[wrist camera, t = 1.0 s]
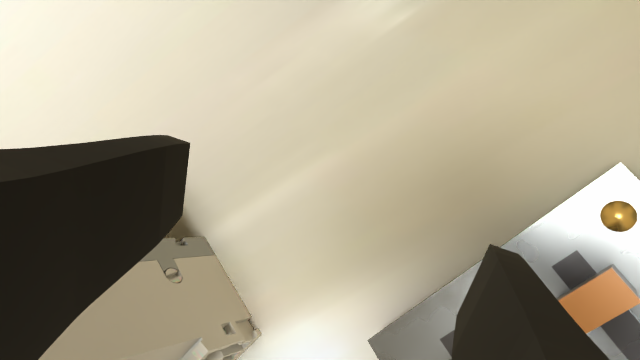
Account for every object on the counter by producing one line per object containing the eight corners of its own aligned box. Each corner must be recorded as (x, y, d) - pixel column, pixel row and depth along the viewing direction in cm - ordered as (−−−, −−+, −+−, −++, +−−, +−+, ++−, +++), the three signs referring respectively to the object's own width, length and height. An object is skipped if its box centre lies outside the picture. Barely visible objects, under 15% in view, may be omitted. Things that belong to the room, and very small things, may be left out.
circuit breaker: (169, 175, 36) (-74, 152, 24) (261, 334, 30) (2, 416, 17) (122, 238, 39) (-119, 247, 26) (198, 395, 33) (-66, 505, 20)
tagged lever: (639, 290, 18) (641, 302, 15) (575, 327, 19) (568, 343, 16) (613, 261, 18) (611, 268, 16) (552, 299, 19) (542, 310, 17)
